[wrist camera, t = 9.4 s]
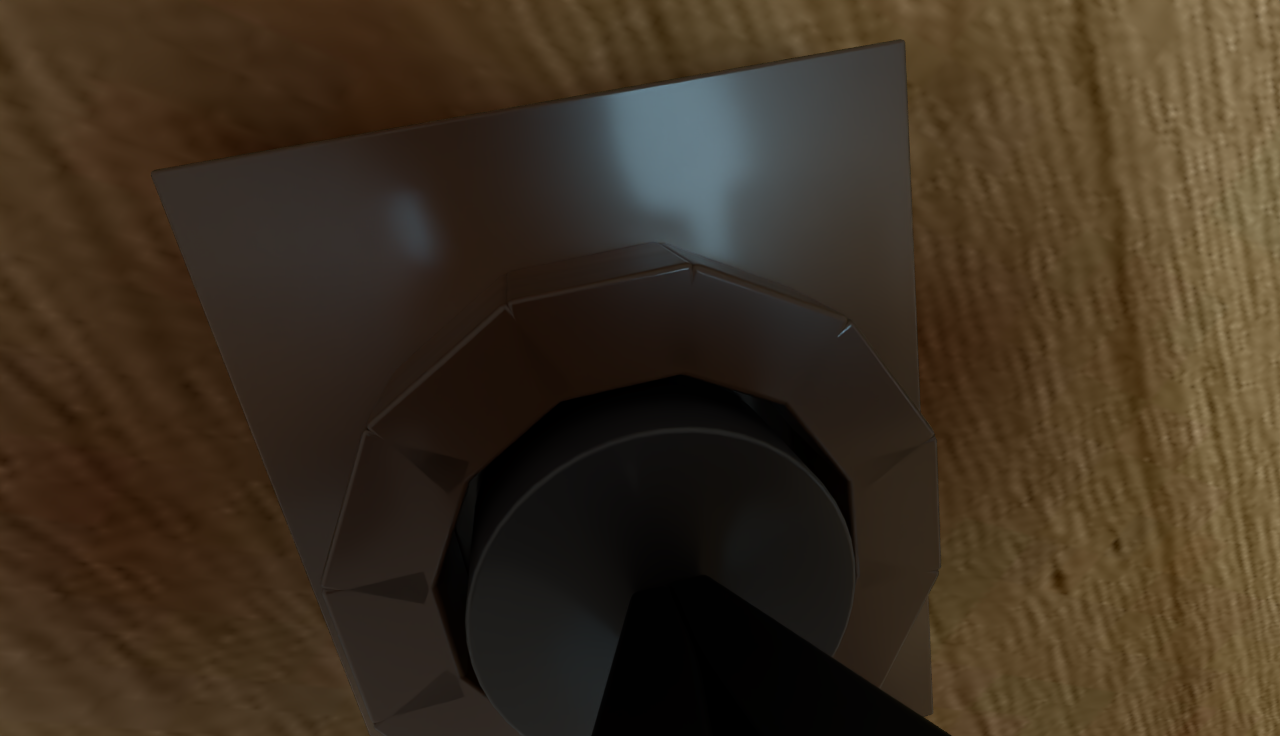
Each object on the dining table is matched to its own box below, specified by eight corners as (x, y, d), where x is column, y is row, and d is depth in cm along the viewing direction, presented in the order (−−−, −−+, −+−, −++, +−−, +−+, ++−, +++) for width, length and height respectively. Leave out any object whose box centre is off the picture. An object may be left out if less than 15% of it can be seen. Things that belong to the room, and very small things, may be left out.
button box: (872, 633, 14) (1002, 805, 11) (433, 757, 13) (405, 997, 10) (829, 59, 11) (1003, 11, 7) (223, 165, 10) (44, 177, 6)
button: (802, 610, 11) (869, 713, 9) (516, 688, 10) (517, 817, 8) (772, 335, 9) (843, 385, 7) (434, 410, 9) (413, 487, 7)
